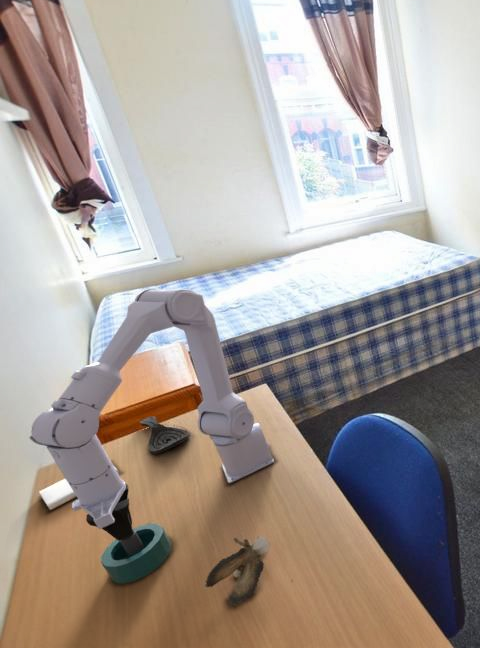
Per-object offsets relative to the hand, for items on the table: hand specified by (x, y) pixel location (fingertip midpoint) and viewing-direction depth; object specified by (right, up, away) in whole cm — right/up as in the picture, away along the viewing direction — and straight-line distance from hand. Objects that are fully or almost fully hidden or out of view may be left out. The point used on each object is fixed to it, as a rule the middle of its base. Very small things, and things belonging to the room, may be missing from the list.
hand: (125, 531), depth 82 cm
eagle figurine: (+23, -7, -3) cm, 24 cm away
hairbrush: (-22, +6, +39) cm, 45 cm away
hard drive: (-30, -1, +24) cm, 38 cm away
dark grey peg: (+1, -5, +2) cm, 5 cm away
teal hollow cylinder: (+1, -7, +3) cm, 7 cm away
